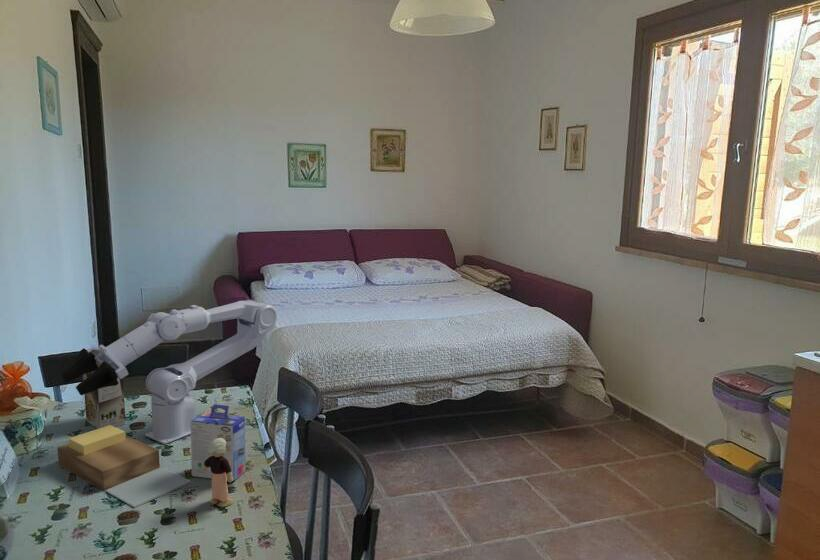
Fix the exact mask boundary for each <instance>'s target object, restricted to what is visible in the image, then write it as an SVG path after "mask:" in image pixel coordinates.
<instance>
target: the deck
mask: <svg viewBox="0 0 820 560" xmlns="http://www.w3.org/2000/svg"><path fill="white" fill-rule="evenodd" d="M125 437H126V440H125V441H122V442H119V443H117V444H114V445H111V446H108V447H105V448H102V449H100V450H97V451H94V452H91V453H88V454H85V455H83V454H81V453H79V452H77V451H76V450H74V449H72V448H70V447H69V442H68V443H65V444H63V445H61V446H57V448H56V449H57V458H58V460H57V462H58V466H60V467H62V468H63V469H64V470H67V471H69V472H71V473H72V474H74V475H75V476H77V477H79V478H81V479H82V480H84V481H86V482H88V483H90V484H91V485H93V486H95V487H97V488H98V489H100V490H102V491H105V490H107V489H110V488H112V487H114V486H117V485H119V484H122V483H124V482H126V481H129V480H131V479H134V478H136V477H139V476H141V475H143V474H146V473H148V472H151V471H153V470H155V469H158V468H160V467H161V465H160V450H159V449H158V448H155V447H152V446H151V445H149V444H146V443H144V442H143V441H140V440H138V439H135V438H133V437H131V436H128V435H126V434H125ZM105 492H106V491H105Z"/></svg>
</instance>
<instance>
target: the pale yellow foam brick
mask: <svg viewBox="0 0 820 560" xmlns="http://www.w3.org/2000/svg"><path fill="white" fill-rule="evenodd" d="M125 435H126V431H125V430H122V429H121V428H118V427H117V426H116V427H114V426H112V425H108V426H105V427H102V428H99V429H98V428H96V429H94V430H91V431H88V432H87V431H86V432H84V433H81V434H78V435H75V436H70V437H68V443H69V447H70V448H72V449H74V450H76V451H77V452H79V453H81V454H83V455H85V454H88V453H91V452H94V451H97V450H100V449H102V448H105V447H108V446H111V445H114V444H117V443H119V442H122V441H125V440H126V437H125Z"/></svg>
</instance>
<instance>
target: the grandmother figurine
mask: <svg viewBox="0 0 820 560" xmlns="http://www.w3.org/2000/svg"><path fill="white" fill-rule="evenodd" d="M208 452H209V453H212V454H213V455H214V456H210V457H209V458H208V459H206V460H205V461H204V467H203V471H204V472H206V471H208V468H209V467H211V472H212V479H211V494H212V495H211V497H212V498H211V499H210V501H209V503H210V504H213V505H215V504H216V505H217V504H218V506H219V507H220V508H221V507H222V508H224V507H228V506H230V505H233V504H234V499H233V498H231V497H229V489H228V482H229V483H232V482H234V481H233V477H232V470H231V468H230V465H229V462H228V460H227V459H226V458H224V457H223V455H224V454H225V452H226V441H225V440H224V439H223V438H217V439H215V440H214V441H213V442H212V443H211V444H210V446H209V448H208ZM227 478H228V481H227Z"/></svg>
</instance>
